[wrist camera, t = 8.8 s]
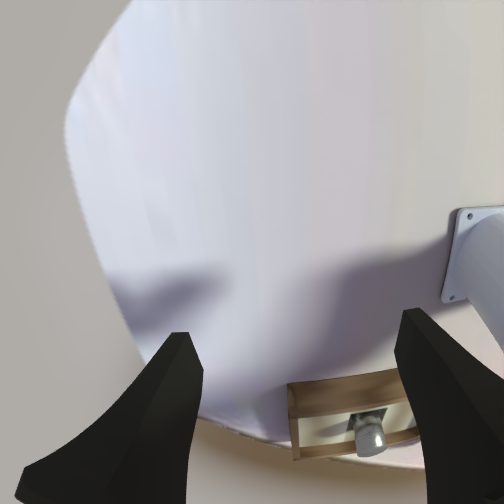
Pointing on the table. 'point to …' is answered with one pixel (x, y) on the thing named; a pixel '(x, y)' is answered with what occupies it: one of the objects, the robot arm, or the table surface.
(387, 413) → the peg box
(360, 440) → the peg
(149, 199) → the table surface
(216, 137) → the table surface
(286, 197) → the table surface
